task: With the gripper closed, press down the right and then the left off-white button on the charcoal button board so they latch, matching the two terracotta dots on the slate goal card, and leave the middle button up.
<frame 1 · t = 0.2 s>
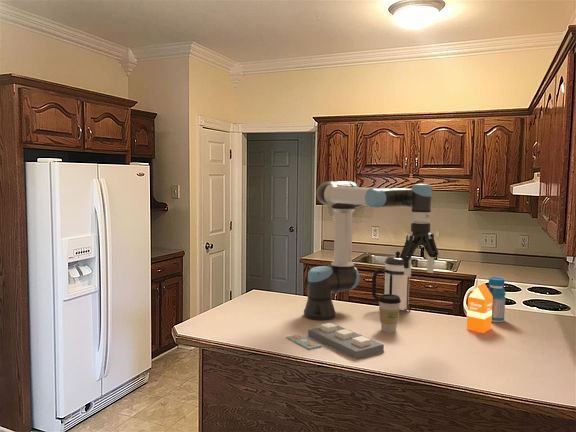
hand: (418, 274, 195), 28 cm above the worktop, tool pointing down, fingers open, 13 cm apart
coffee cup: (388, 330, 211), on the worktop
button right: (361, 343, 184), point 3 cm above the worktop, slide at 0.0 cm
coffee press: (393, 310, 242), on the worktop
beverage bottle: (494, 320, 228), on the worktop
board: (344, 343, 193), on the worktop
button left: (328, 329, 201), point 3 cm above the worktop, slide at 0.0 cm
button middle: (344, 335, 193), point 3 cm above the worktop, slide at 0.0 cm
orange juice: (478, 329, 214), on the worktop
goal card: (303, 342, 194), on the worktop
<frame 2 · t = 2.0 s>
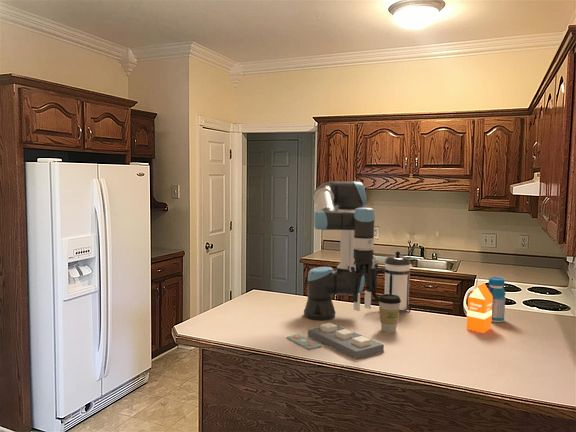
hand: (362, 308, 183), 17 cm above the worktop, tool pointing down, fingers open, 5 cm apart
nothing on the worktop moved.
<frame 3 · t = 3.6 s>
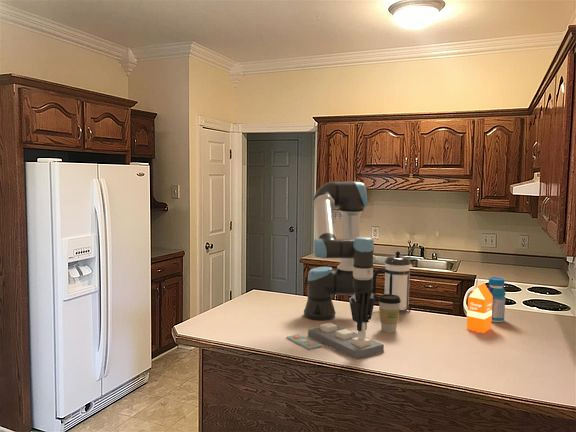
hand: (361, 338, 184), 5 cm above the worktop, tool pointing down, fingers closed
button right: (361, 343, 184), point 3 cm above the worktop, slide at 0.1 cm, touching gripper
everything else where it was.
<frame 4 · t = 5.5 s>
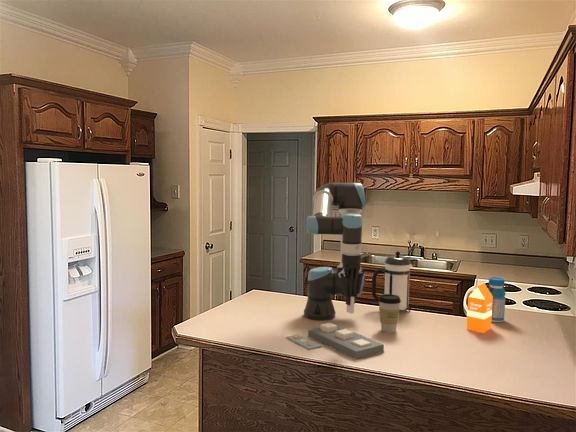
hand: (350, 312, 190), 13 cm above the worktop, tool pointing down, fingers closed
button right: (361, 346, 184), point 2 cm above the worktop, slide at 1.2 cm
everything else where it was.
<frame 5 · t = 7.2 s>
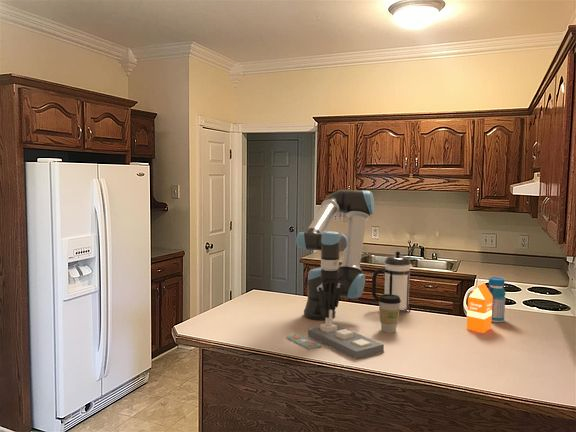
hand: (328, 324, 201), 5 cm above the worktop, tool pointing down, fingers closed
button left: (328, 329, 201), point 3 cm above the worktop, slide at 0.0 cm, touching gripper
everything else where it was.
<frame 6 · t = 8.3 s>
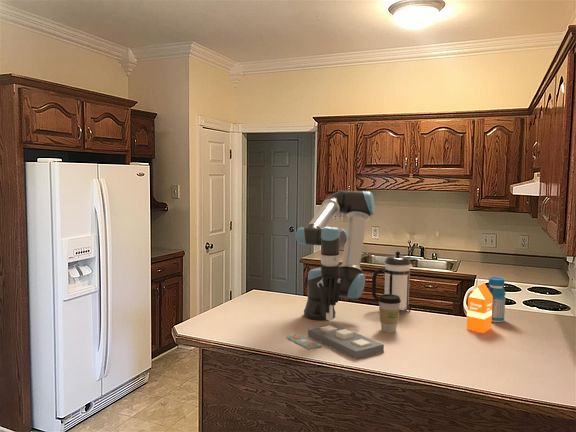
hand: (329, 319, 201), 7 cm above the worktop, tool pointing down, fingers closed
button left: (328, 332, 201), point 2 cm above the worktop, slide at 1.2 cm
everything else where it was.
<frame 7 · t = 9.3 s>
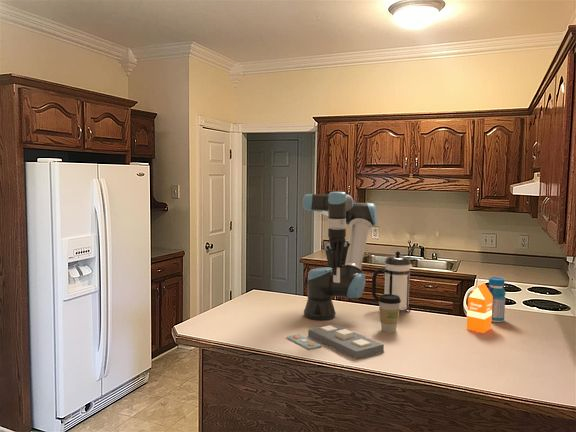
hand: (336, 282, 207), 22 cm above the worktop, tool pointing down, fingers closed
nothing on the worktop moved.
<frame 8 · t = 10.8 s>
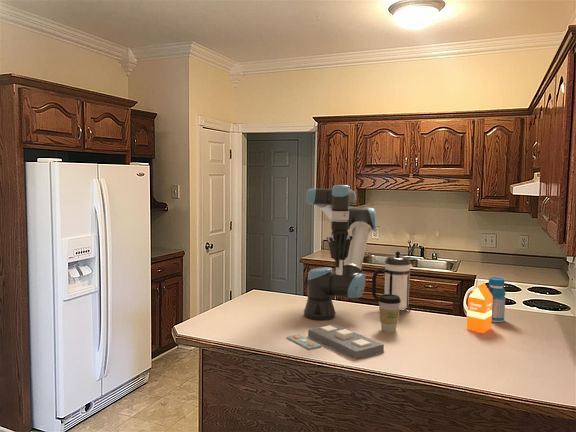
hand: (339, 274, 210), 24 cm above the worktop, tool pointing down, fingers closed
nothing on the worktop moved.
at the end: button right slide at 1.2 cm; button left slide at 1.2 cm; button middle slide at 0.0 cm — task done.
